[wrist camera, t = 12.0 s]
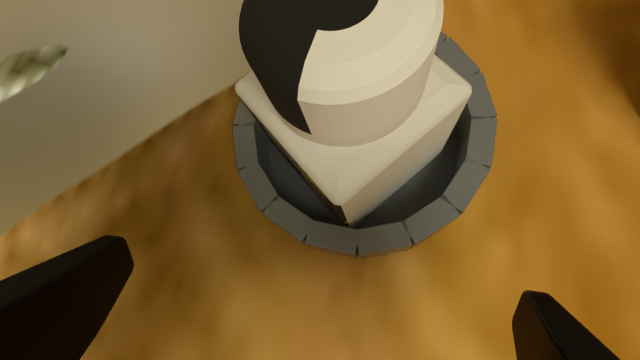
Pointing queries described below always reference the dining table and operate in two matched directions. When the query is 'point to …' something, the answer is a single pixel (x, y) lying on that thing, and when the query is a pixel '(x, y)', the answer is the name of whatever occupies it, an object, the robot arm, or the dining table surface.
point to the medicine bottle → (350, 93)
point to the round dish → (403, 205)
